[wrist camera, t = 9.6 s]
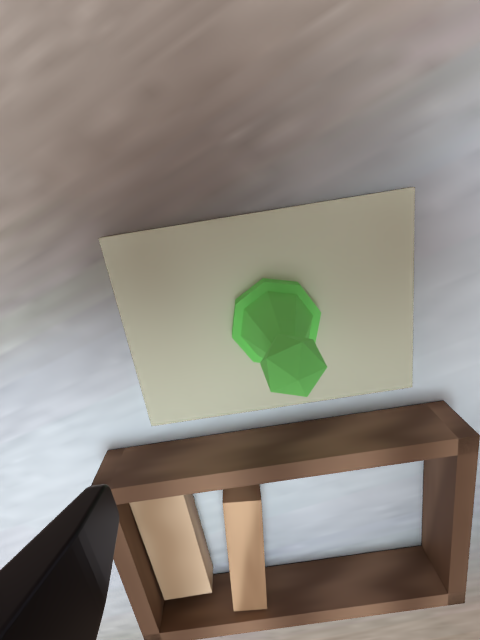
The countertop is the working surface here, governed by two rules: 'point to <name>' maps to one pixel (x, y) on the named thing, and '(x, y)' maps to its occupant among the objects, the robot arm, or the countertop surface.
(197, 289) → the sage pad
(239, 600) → the offcut top
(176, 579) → the block
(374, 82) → the countertop surface
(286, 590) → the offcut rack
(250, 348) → the game piece
